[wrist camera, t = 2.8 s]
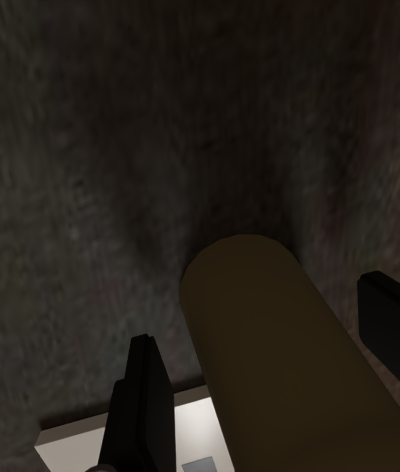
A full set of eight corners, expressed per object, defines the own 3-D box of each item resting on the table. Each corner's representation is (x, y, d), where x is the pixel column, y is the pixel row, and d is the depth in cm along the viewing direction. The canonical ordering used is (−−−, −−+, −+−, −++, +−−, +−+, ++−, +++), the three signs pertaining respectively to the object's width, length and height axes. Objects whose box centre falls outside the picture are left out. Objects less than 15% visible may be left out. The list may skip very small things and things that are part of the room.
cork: (157, 267, 12) (108, 946, 2) (281, 211, 12) (959, 631, 2) (208, 361, 14) (316, 927, 4) (314, 315, 14) (714, 783, 4)
